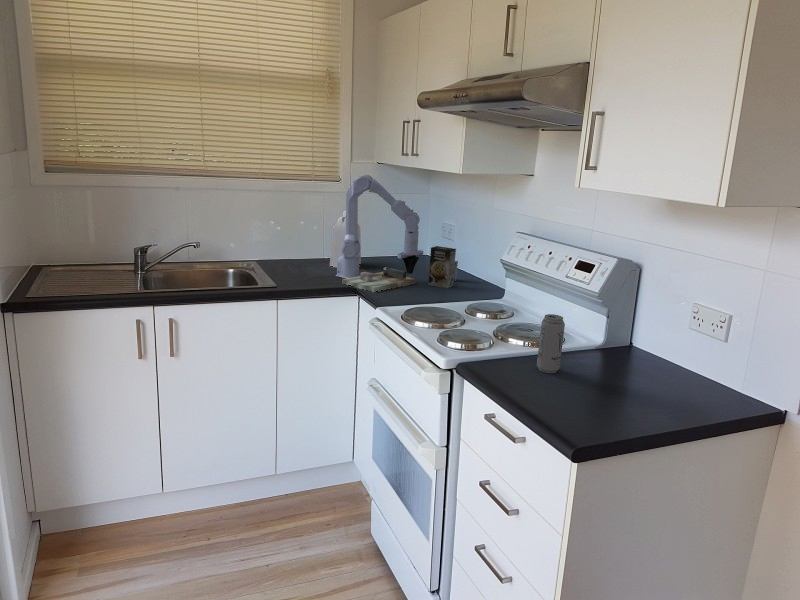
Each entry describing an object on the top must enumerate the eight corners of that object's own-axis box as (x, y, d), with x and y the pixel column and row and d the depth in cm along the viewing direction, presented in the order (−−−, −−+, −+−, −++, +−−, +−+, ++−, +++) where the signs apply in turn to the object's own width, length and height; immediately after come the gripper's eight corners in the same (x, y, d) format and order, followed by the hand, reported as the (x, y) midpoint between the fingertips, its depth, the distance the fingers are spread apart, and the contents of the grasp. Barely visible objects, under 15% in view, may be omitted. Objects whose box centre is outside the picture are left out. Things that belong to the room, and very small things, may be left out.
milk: (353, 268, 279) (354, 212, 273) (329, 266, 282) (330, 210, 275) (360, 264, 291) (362, 210, 284) (338, 262, 293) (339, 208, 287)
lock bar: (381, 274, 258) (382, 267, 257) (386, 273, 260) (387, 266, 260) (402, 279, 251) (402, 272, 250) (407, 278, 253) (407, 271, 252)
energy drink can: (555, 375, 160) (562, 321, 156) (533, 370, 162) (539, 317, 159) (561, 369, 165) (568, 316, 161) (540, 364, 168) (545, 312, 164)
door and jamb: (342, 284, 249) (342, 272, 248) (384, 276, 268) (384, 264, 267) (373, 292, 238) (374, 280, 237) (415, 283, 256) (415, 272, 255)
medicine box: (437, 280, 265) (438, 260, 263) (439, 278, 269) (440, 258, 267) (455, 281, 263) (456, 262, 261) (456, 279, 268) (458, 260, 265)
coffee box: (427, 285, 254) (430, 247, 250) (434, 282, 260) (436, 245, 256) (447, 288, 250) (450, 250, 246) (453, 285, 256) (456, 248, 252)
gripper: (407, 244, 246) (405, 277, 250) (429, 241, 257) (427, 272, 260) (394, 242, 251) (393, 274, 254) (416, 239, 262) (415, 270, 265)
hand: (409, 273), depth 258 cm, fingers closed
